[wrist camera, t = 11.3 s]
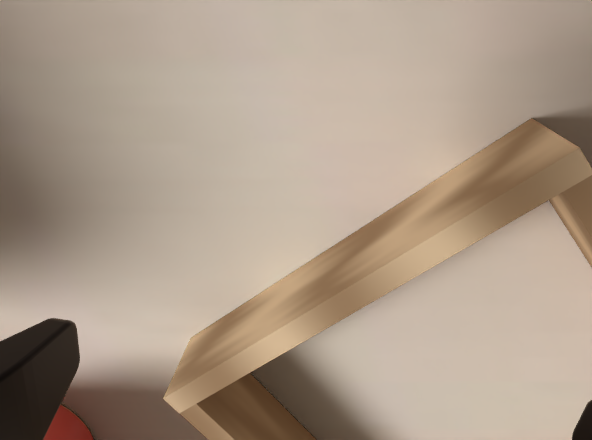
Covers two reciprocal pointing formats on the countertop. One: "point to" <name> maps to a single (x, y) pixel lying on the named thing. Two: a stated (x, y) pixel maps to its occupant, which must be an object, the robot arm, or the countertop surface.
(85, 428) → the flower pot
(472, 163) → the open wooden tray
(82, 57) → the countertop surface
